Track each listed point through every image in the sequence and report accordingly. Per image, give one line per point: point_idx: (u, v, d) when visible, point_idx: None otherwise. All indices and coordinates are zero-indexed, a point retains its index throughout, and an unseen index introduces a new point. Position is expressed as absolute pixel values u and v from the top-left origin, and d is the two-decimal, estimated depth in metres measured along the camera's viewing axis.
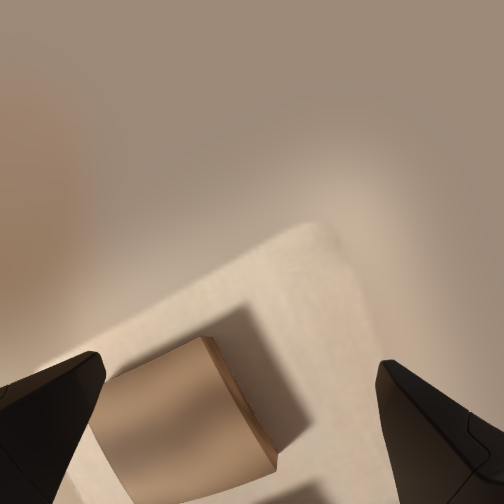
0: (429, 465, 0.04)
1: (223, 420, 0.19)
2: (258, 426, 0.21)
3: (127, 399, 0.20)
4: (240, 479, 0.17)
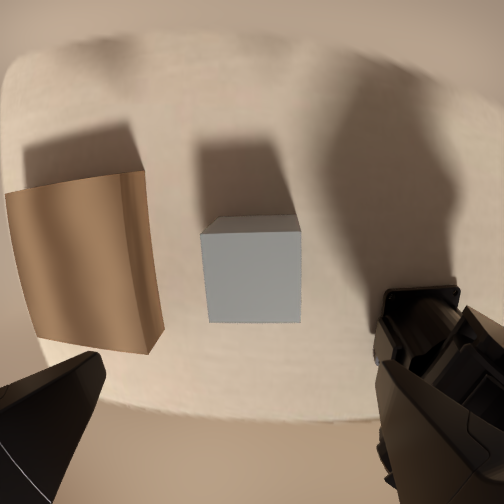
0: (429, 465, 0.04)
1: (58, 202, 0.17)
2: None
3: (35, 287, 0.19)
4: (117, 217, 0.17)
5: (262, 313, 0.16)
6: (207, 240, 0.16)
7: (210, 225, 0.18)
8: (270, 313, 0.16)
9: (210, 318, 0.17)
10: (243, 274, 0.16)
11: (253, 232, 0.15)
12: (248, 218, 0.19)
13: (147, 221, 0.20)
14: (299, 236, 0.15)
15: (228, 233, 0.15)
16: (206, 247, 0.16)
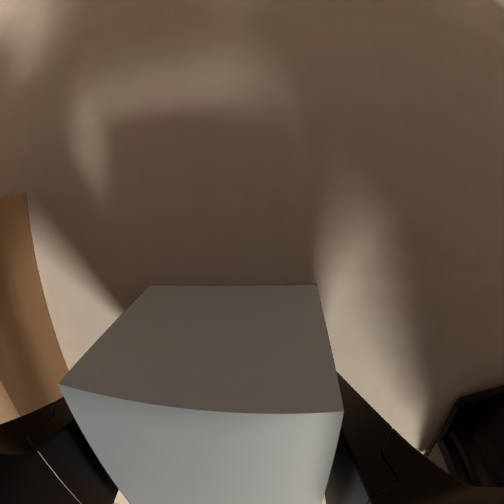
0: (342, 480, 0.05)
1: None
2: None
3: None
4: None
5: None
6: (77, 401, 0.05)
7: (108, 330, 0.07)
8: None
9: None
10: (180, 474, 0.05)
11: (191, 406, 0.04)
12: (205, 301, 0.08)
13: (36, 286, 0.10)
14: (336, 423, 0.04)
15: (121, 397, 0.04)
16: (82, 414, 0.05)
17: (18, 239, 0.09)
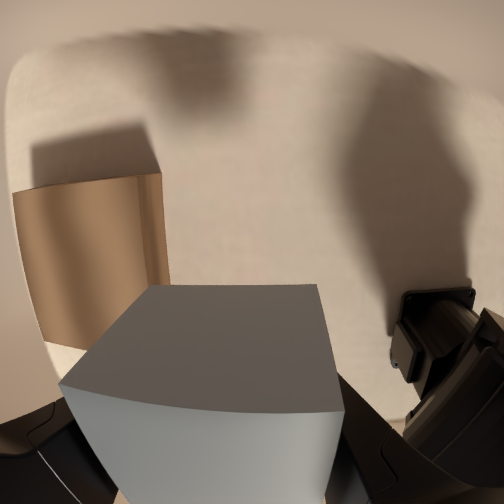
0: (342, 480, 0.05)
1: (69, 204, 0.17)
2: (114, 177, 0.19)
3: (44, 290, 0.19)
4: (133, 222, 0.17)
5: None
6: (77, 401, 0.05)
7: (109, 330, 0.07)
8: None
9: None
10: (180, 474, 0.05)
11: (192, 406, 0.04)
12: (205, 301, 0.08)
13: (163, 225, 0.20)
14: (337, 422, 0.04)
15: (122, 397, 0.04)
16: (82, 413, 0.05)
17: (158, 197, 0.19)
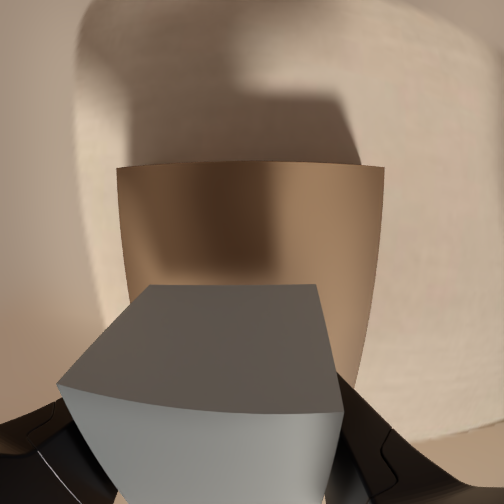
0: (341, 480, 0.05)
1: (254, 195, 0.12)
2: None
3: None
4: (370, 229, 0.12)
5: None
6: (75, 401, 0.05)
7: (107, 330, 0.07)
8: None
9: None
10: (179, 475, 0.05)
11: (190, 406, 0.04)
12: (204, 301, 0.08)
13: None
14: (336, 423, 0.04)
15: (120, 397, 0.04)
16: (80, 414, 0.05)
17: None
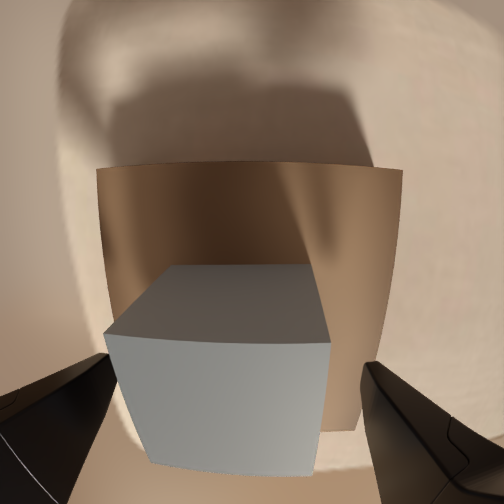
0: (408, 470, 0.04)
1: (252, 200, 0.10)
2: None
3: None
4: (385, 241, 0.10)
5: (242, 464, 0.07)
6: (119, 347, 0.06)
7: (141, 296, 0.08)
8: (257, 466, 0.07)
9: (151, 458, 0.08)
10: (200, 413, 0.07)
11: (216, 341, 0.06)
12: (219, 275, 0.10)
13: None
14: (326, 353, 0.06)
15: (159, 338, 0.06)
16: (120, 360, 0.07)
17: None
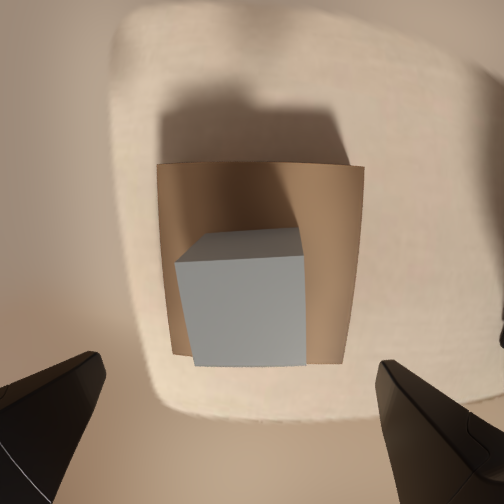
0: (429, 465, 0.04)
1: (265, 187, 0.16)
2: None
3: None
4: (353, 214, 0.16)
5: (259, 355, 0.13)
6: (184, 270, 0.12)
7: (191, 247, 0.14)
8: (268, 356, 0.13)
9: (195, 361, 0.13)
10: (231, 311, 0.12)
11: (241, 258, 0.12)
12: (239, 235, 0.16)
13: None
14: (301, 262, 0.11)
15: (209, 260, 0.12)
16: (184, 279, 0.12)
17: None
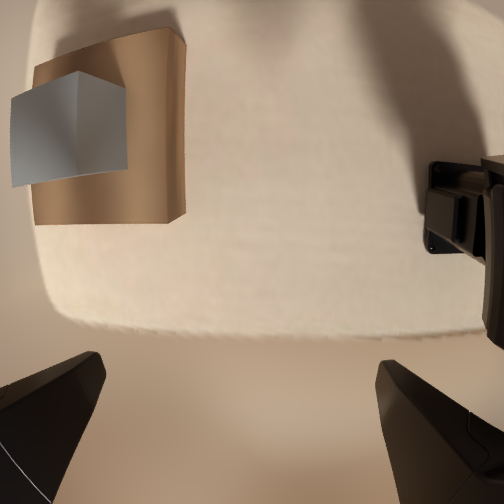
0: (429, 465, 0.04)
1: (95, 61, 0.15)
2: None
3: None
4: (159, 64, 0.15)
5: (47, 167, 0.12)
6: (14, 102, 0.11)
7: None
8: (53, 166, 0.12)
9: (13, 182, 0.12)
10: (34, 127, 0.12)
11: (44, 84, 0.11)
12: None
13: (183, 89, 0.18)
14: (76, 75, 0.11)
15: (28, 91, 0.11)
16: (14, 109, 0.11)
17: (183, 61, 0.17)
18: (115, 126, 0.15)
